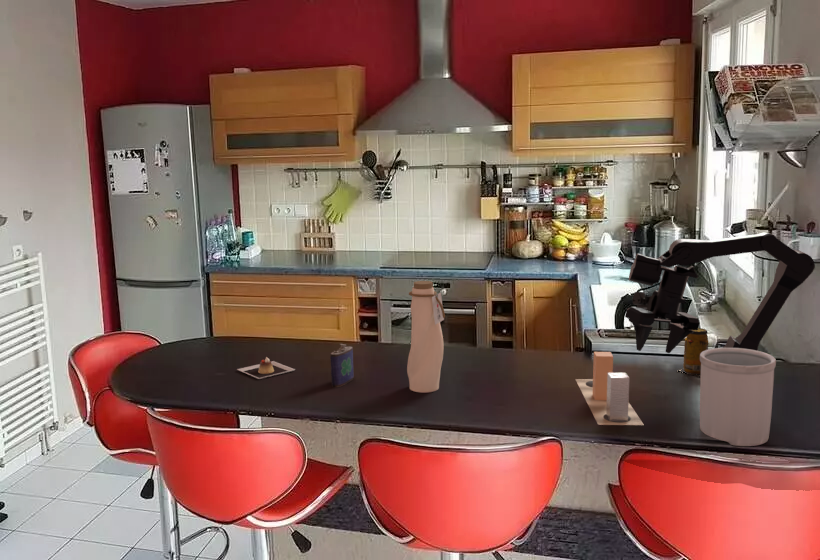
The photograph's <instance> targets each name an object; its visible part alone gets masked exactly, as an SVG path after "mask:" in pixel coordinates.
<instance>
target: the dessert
mask: <svg viewBox="0 0 820 560" xmlns="http://www.w3.org/2000/svg"><path fill="white" fill-rule="evenodd" d="M273 366H275V367H277V368H279V369H282V370H285V371H282V372H278V373H274V372H275V369H274V367H273ZM254 369H258V371H257V372H258V373H259V374H262V375H265V374H270V375H266V376H261V377H258V376H256V375H253V374H251V373H248V372H246V371H249V370H254ZM236 370H237V371H239V372H241V373H244V374H246V375H248V376H250V377H253V378H255V379H257V380H263V379H267V378H271V377H275V376H279V375H284V374H287V373H288V374H289V373H292V372H294V371H295V370H296V368H292V367H290V366H287V365H284V364H282V363H279V362H278V361H275V360H273V361H271V360H270V358H268V357H267V356H266V357H265V359H264V357H263V359H262V360H261V361H260V363H259V364H254V365H250V366H245V367H240V368H237V369H236ZM272 373H274V374H272Z"/></svg>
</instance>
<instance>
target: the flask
mask: <svg viewBox="0 0 820 560" xmlns="http://www.w3.org/2000/svg"><path fill="white" fill-rule="evenodd" d="M339 345H340V347H339V348H338V349H337V350H333V351H332V352H330V355H329V358H330V375H331V387H332V388H340V387H342V386H345V385H347V384H348V383H350V382H351V381H353V380H354V377H355V376H354V375H355V374H354V349H353V346H347V344H343V343H339Z"/></svg>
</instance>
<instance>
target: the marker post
mask: <svg viewBox="0 0 820 560" xmlns="http://www.w3.org/2000/svg"><path fill="white" fill-rule="evenodd" d="M592 370H593V371H592V372H593V373H592V374H593V375H592V379H593V397H594V399H595V400H607V376H608V373H614V371H613V370H614V356H613V354H612V352H611V351H593V367H592Z"/></svg>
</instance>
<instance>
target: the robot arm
mask: <svg viewBox="0 0 820 560" xmlns="http://www.w3.org/2000/svg"><path fill="white" fill-rule="evenodd" d="M755 252H766V253H767V254H769V255H770V256H772V258H774V259H775V260H777V261H778V264H777V267H776V268H775V272H774V273H775V274H774V277H773V278H774V279H773V282H772V284H771V286H770V288H768V290H767V292H766V294H765V295H764V297H763V298H762V300H761V302H760V303H759V305H758V306H757V308H756V310H755V312H754V313H753V315H752V316H751V318H750V320H749V321H748V323H747V324H746V326H745V327H744V329H743V331H742V332H741V333H740V334H738V336H736V337H733V336H732V335H729V337H728V339H727V341H726V343H725V345H724V346H722V348H743V349H750V350H756V351H759V346H760V343H761V341H762V339H763V338H764V337H765V335H766V333H767V332H768V330H769V329H770V327H771V325H772V324H773V322H774V321H775V319H776V318H777V316H778V314H779V313H780V312H781V309H782V307H783V306H784V305H785V303H786V301H787V300H788V298H789V297H790V295H791V293H793V291H794V290H796V289H798V287H799V286H801V285H803V283H804V282H805V281H806V280H807V279H808V278H809V277H810V276H811V274H812V273H813V272H814V270H815V265H816V264H815V261H814V259H813V257H812V256H811V255H810V254H808V253H805V252H804V251H802V250H798V249H793V248H792V247H790V246H789V245H787V244H786V243H784V242H783V241H782V240H780V239H778V237H777V236H776V235H774V234H772V233H770V232H768V231H764V232H761V233H756V234H755V233H754V234H748V235H741V236H739V235H738V236H733V237H732V236H731V237H726V238H725V237H724V238H716V239H711V240H710V239H707V240H706V239H698V238H695V239H693V238H679V239H675V240H674V241H672V243H671V244H670V246H669V248H668V249H667V251H665V252H664V253H663V254H661V255H660V256H659V257H657V258H654V257H650V256H646V255H643V254H642V253H636V255H635V258H634V260H633V262H632V264H631V266H630V270H629V275H628V281H629V282H633V283H637V284H641V285H646V286H651V287H653V286H654V285H657V284H659V287H658V290H654V291H653V292H652V294H651V295H646V293H645V292H643V291H635V292H634V294H633V296H632V304H633V305H635V306H636V307H635V306H630V307H628V308H627V309H626V311H625V315H624V317H625V318H626V319H627V320H628V322H630V323H631V324H632V325H633V327H634V332H635V343H636V350H637V351H638V352H641V351H642V349H643V348H644V346H645V344H646V342H647V340H648V339H649V336H650V334H651V332H652V330H653V329H654V328H653V326H651V325H653V324H654V322H657V323H658V322H659V323H668V326H669V331H670V332H669V335H668V338H667V341H666V346H665V353H667V354H670V353H671V352H672V351H674V349H675V348H676V347H677V346H678V345H679V344H681V342H682V341H683V340H685V339H686V338H687V336H688V335H689V334H690V333H693V331H692V330H698V328H700V327H699V326H700V320H699V318H697V317H696V316H694V315H692V314H689V313H687V312H681V311H679V310H680V307H681V304H685V303H686V298H683V297H684V293H685V290H686V288H687V283H688V279H689V277H690V278H694V279H698V278H699V275H698V274H697V273H696V271H695V267H694V266H693V265H694V264H697V263H700V262H704V261H705V260H708V259H711V258H716V257H723V256H732V255H740V254H747V253H755ZM662 271H663V272H662ZM662 273H663V274H662ZM660 280H661V281H660ZM659 282H660V283H659Z"/></svg>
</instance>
